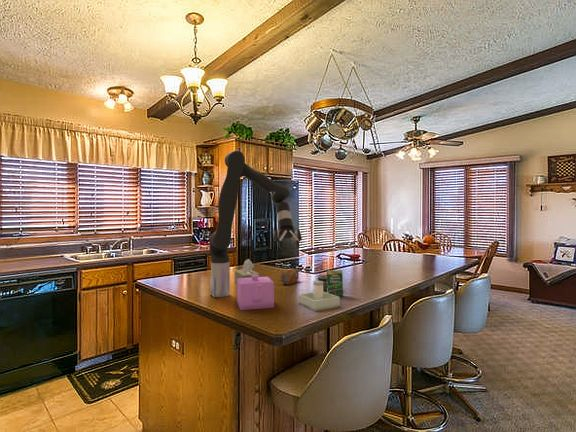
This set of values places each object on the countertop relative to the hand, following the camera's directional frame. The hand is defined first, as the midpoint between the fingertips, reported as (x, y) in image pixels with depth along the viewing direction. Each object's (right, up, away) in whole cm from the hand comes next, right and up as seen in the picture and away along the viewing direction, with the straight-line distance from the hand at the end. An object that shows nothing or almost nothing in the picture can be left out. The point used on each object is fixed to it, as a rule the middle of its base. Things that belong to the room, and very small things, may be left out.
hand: (289, 248), depth 176 cm
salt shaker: (+13, -24, -16) cm, 32 cm away
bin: (+13, -25, -16) cm, 33 cm away
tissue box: (-25, -24, +26) cm, 43 cm away
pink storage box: (-16, -25, -17) cm, 34 cm away
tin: (0, -24, +32) cm, 40 cm away
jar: (+21, -24, +13) cm, 34 cm away
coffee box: (+23, -25, +1) cm, 34 cm away
